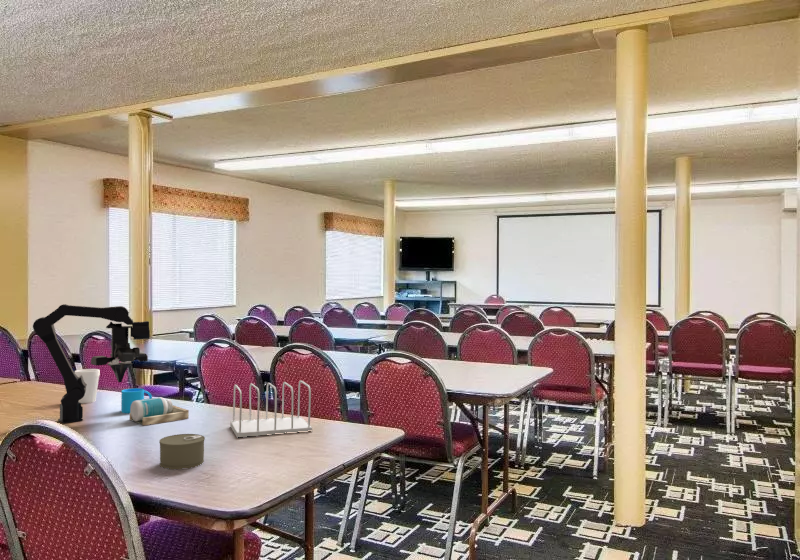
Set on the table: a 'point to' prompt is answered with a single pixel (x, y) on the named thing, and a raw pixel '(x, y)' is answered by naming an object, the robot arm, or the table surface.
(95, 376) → the foam cup
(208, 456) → the table surface
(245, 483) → the table surface
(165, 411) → the pill bottle
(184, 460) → the can
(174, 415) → the cradle
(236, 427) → the file sorter
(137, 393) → the mug
